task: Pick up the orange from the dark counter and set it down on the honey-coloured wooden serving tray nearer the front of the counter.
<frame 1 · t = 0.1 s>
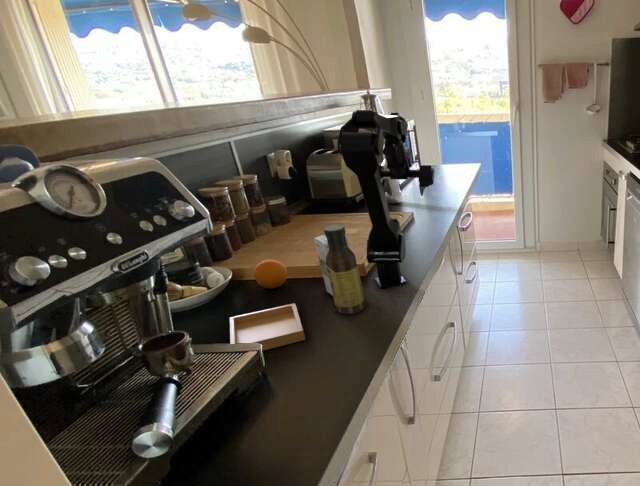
hand: (407, 195, 138), 15 cm above the counter, tool tilted 35°, fingers open, 9 cm apart
sauce bottle: (351, 309, 103), on the counter
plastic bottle: (394, 203, 184), on the counter
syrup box: (342, 293, 111), on the counter
tray: (268, 333, 93), on the counter
orange: (270, 273, 111), point 4 cm above the counter
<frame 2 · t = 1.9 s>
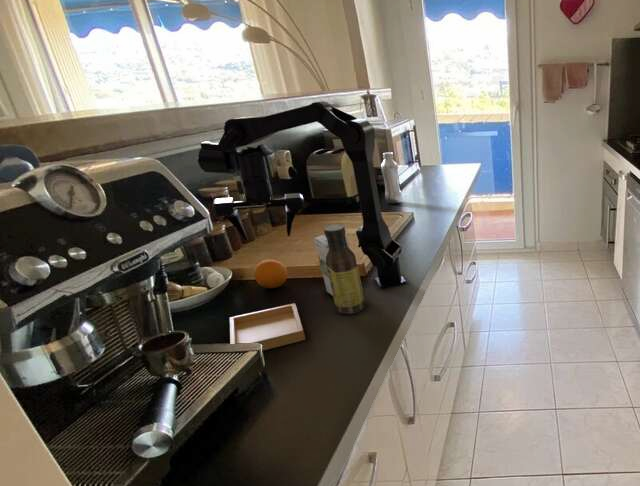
hand: (268, 237, 111), 12 cm above the counter, tool pointing down, fingers open, 9 cm apart
nothing on the counter moved.
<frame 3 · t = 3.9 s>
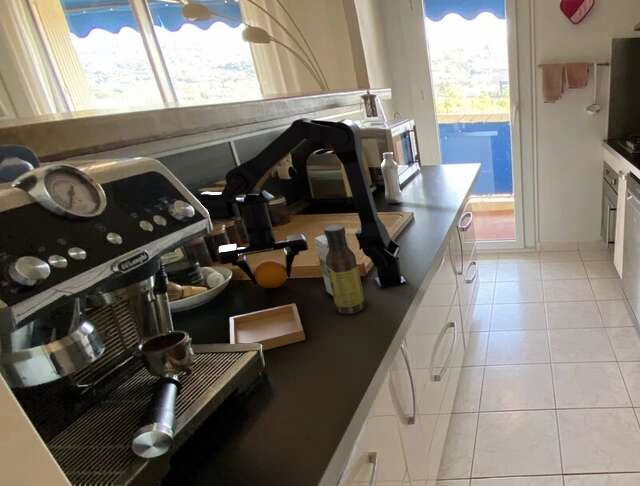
hand: (272, 280, 112), 2 cm above the counter, tool pointing down, fingers closed on orange, 7 cm apart
orange: (270, 273, 111), point 4 cm above the counter, touching gripper
everything else where it was.
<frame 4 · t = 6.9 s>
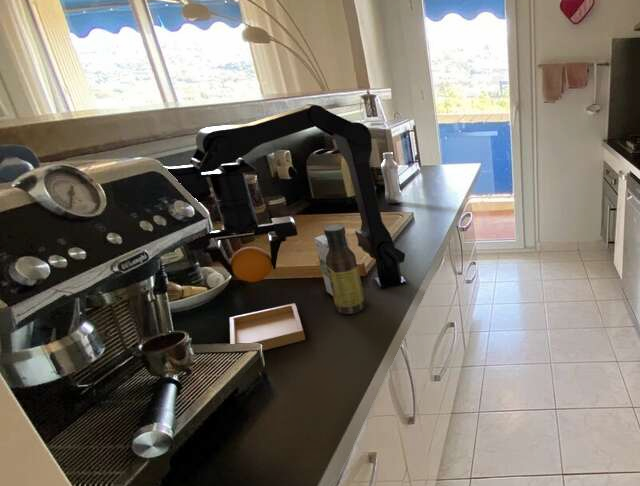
hand: (254, 272, 92), 12 cm above the counter, tool pointing down, fingers closed on orange, 7 cm apart
orange: (251, 264, 91), point 14 cm above the counter, touching gripper
everything else where it was.
when the fingers open (3 cm above the counter, at t = 10.1 s): orange stays where it is, resting on tray.
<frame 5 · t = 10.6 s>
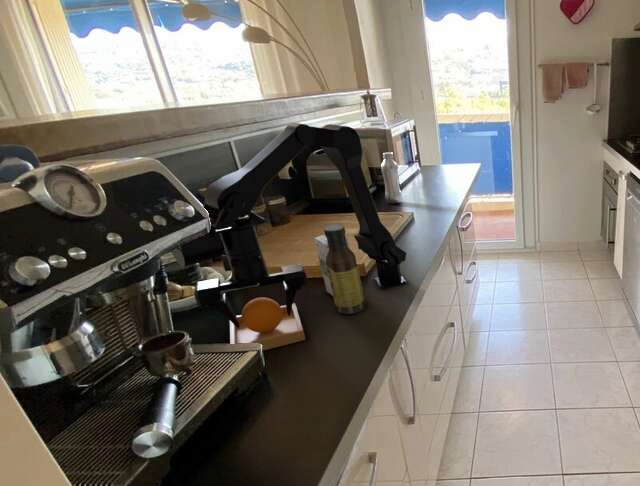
hand: (264, 320, 92), 3 cm above the counter, tool pointing down, fingers open, 9 cm apart
orange: (262, 315, 91), point 4 cm above the counter, touching tray
everything else where it was.
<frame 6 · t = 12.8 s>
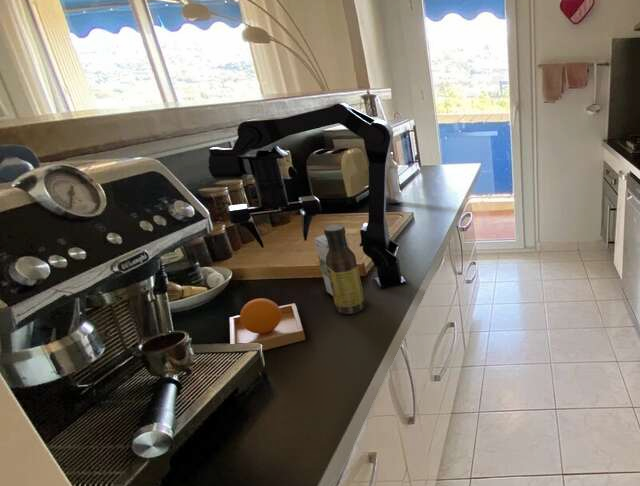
hand: (284, 243, 107), 12 cm above the counter, tool pointing down, fingers open, 9 cm apart
orange: (261, 316, 91), point 4 cm above the counter, tilted 9°, touching tray
everything else where it was.
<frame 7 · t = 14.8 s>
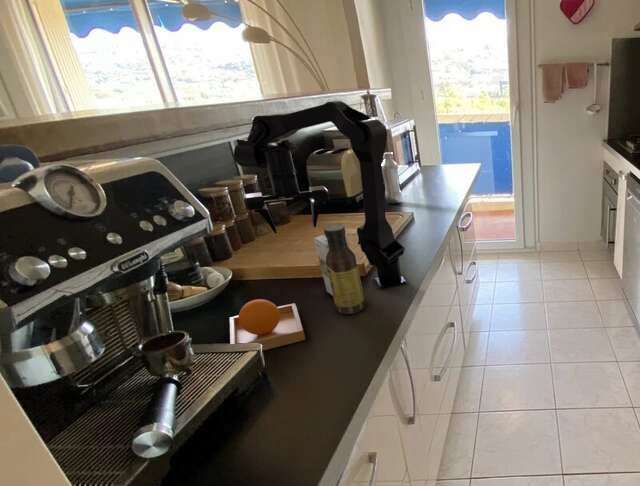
hand: (295, 229, 116), 12 cm above the counter, tool pointing down, fingers open, 9 cm apart
orange: (259, 317, 90), point 4 cm above the counter, tilted 15°, touching tray
everything else where it was.
at the end: orange inside the target area on the tray (0.9 cm from its centre), point 4.4 cm above the tray's base; the gripper is holding nothing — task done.
